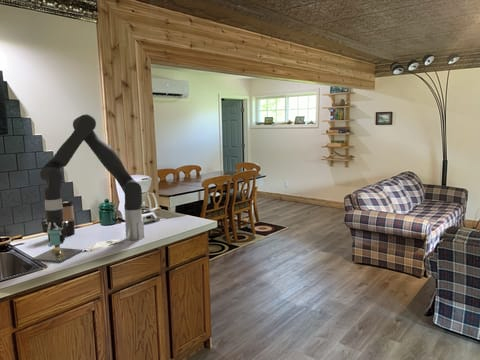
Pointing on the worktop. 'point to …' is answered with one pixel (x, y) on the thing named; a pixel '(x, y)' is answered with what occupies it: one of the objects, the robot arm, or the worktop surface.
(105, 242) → the cloth
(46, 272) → the worktop surface
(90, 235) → the worktop surface
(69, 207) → the travel mug
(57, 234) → the teal cap
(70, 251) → the plate
